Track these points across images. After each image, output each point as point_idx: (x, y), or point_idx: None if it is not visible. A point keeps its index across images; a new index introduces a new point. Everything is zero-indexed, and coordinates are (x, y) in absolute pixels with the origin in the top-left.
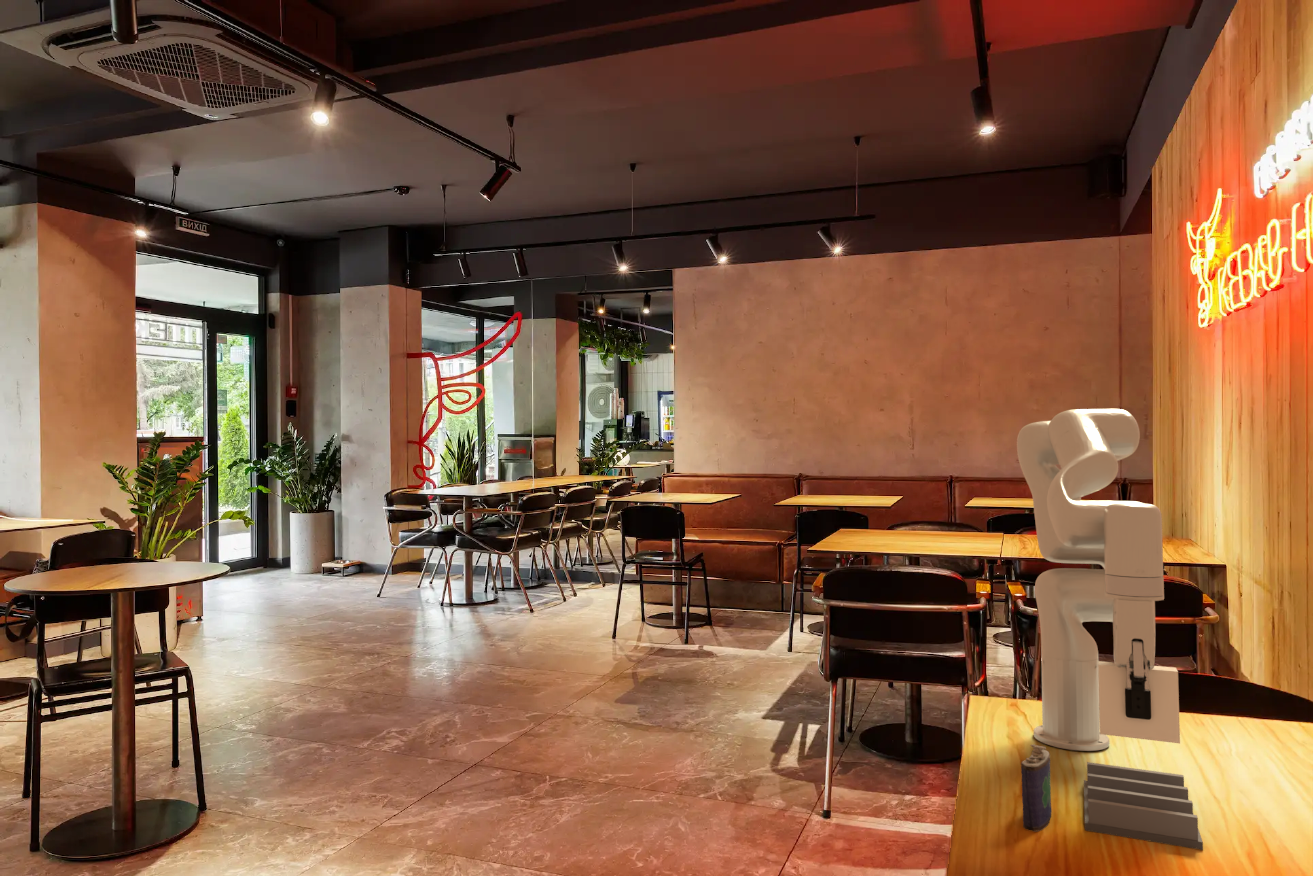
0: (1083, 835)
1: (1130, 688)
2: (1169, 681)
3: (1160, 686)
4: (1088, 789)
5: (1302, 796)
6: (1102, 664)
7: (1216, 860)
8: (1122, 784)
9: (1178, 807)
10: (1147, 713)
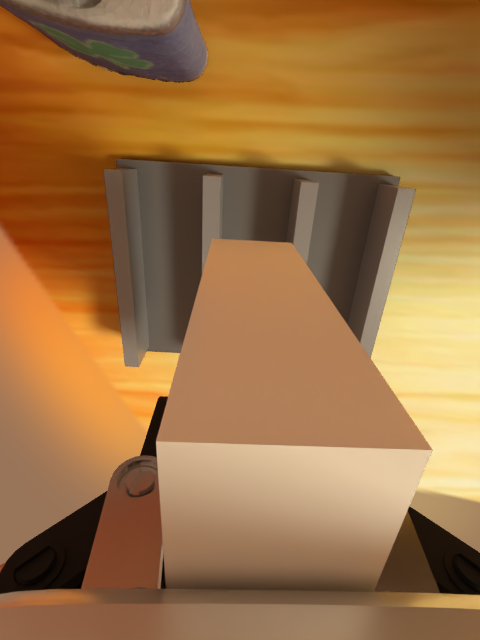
0: (93, 153)
1: (121, 480)
2: None
3: None
4: (203, 176)
5: (416, 489)
6: (214, 477)
7: (107, 354)
8: None
9: None
10: None
